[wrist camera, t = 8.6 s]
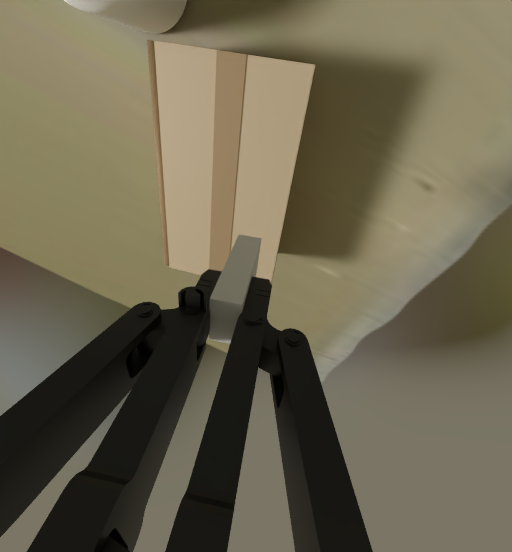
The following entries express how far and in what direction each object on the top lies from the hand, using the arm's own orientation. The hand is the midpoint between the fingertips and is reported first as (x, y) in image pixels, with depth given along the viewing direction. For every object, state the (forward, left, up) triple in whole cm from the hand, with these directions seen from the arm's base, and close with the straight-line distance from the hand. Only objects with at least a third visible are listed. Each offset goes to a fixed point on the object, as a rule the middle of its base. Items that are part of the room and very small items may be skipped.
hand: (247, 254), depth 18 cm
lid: (-5, 0, -12) cm, 13 cm away
